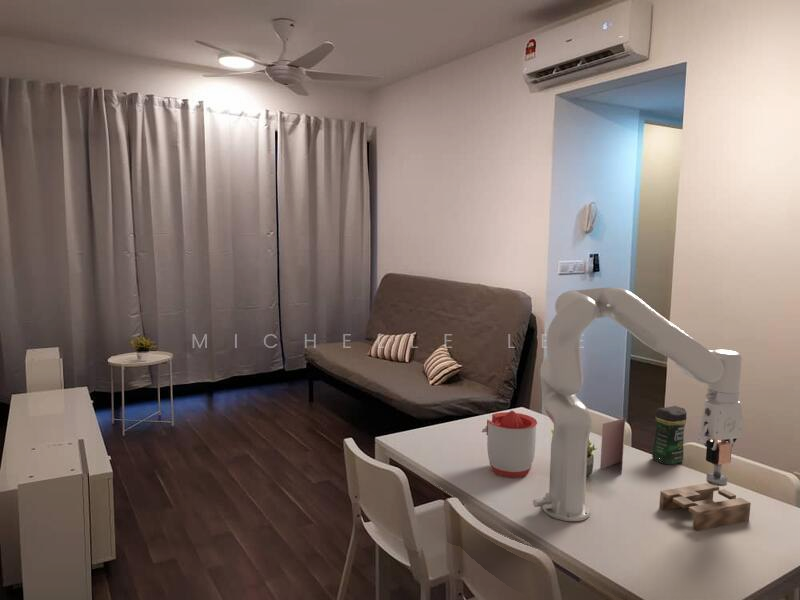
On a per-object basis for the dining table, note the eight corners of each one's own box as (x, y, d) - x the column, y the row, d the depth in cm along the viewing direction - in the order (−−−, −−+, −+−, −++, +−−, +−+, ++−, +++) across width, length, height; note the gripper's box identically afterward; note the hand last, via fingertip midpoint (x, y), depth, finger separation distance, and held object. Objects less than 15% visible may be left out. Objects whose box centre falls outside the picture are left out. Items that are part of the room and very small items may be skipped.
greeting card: (620, 460, 197) (623, 417, 195) (639, 468, 190) (642, 423, 189) (598, 467, 191) (600, 423, 189) (617, 475, 184) (620, 429, 182)
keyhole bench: (696, 530, 151) (698, 512, 150) (659, 507, 163) (660, 490, 162) (749, 520, 157) (750, 502, 156) (709, 499, 169) (710, 482, 168)
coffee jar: (668, 467, 191) (672, 412, 189) (648, 458, 198) (651, 405, 196) (687, 462, 196) (691, 408, 193) (667, 454, 203) (671, 402, 200)
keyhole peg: (717, 487, 157) (719, 445, 155) (702, 479, 161) (704, 439, 160) (731, 484, 158) (734, 443, 157) (716, 477, 163) (718, 437, 162)
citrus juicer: (488, 457, 198) (490, 400, 196) (539, 466, 191) (542, 407, 188) (474, 474, 184) (475, 413, 182) (529, 485, 177) (531, 421, 174)
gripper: (710, 403, 151) (705, 470, 153) (758, 397, 156) (753, 462, 158) (687, 395, 158) (683, 460, 160) (734, 389, 163) (729, 452, 165)
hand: (718, 460), depth 159 cm, fingers closed on keyhole peg, 4 cm apart
